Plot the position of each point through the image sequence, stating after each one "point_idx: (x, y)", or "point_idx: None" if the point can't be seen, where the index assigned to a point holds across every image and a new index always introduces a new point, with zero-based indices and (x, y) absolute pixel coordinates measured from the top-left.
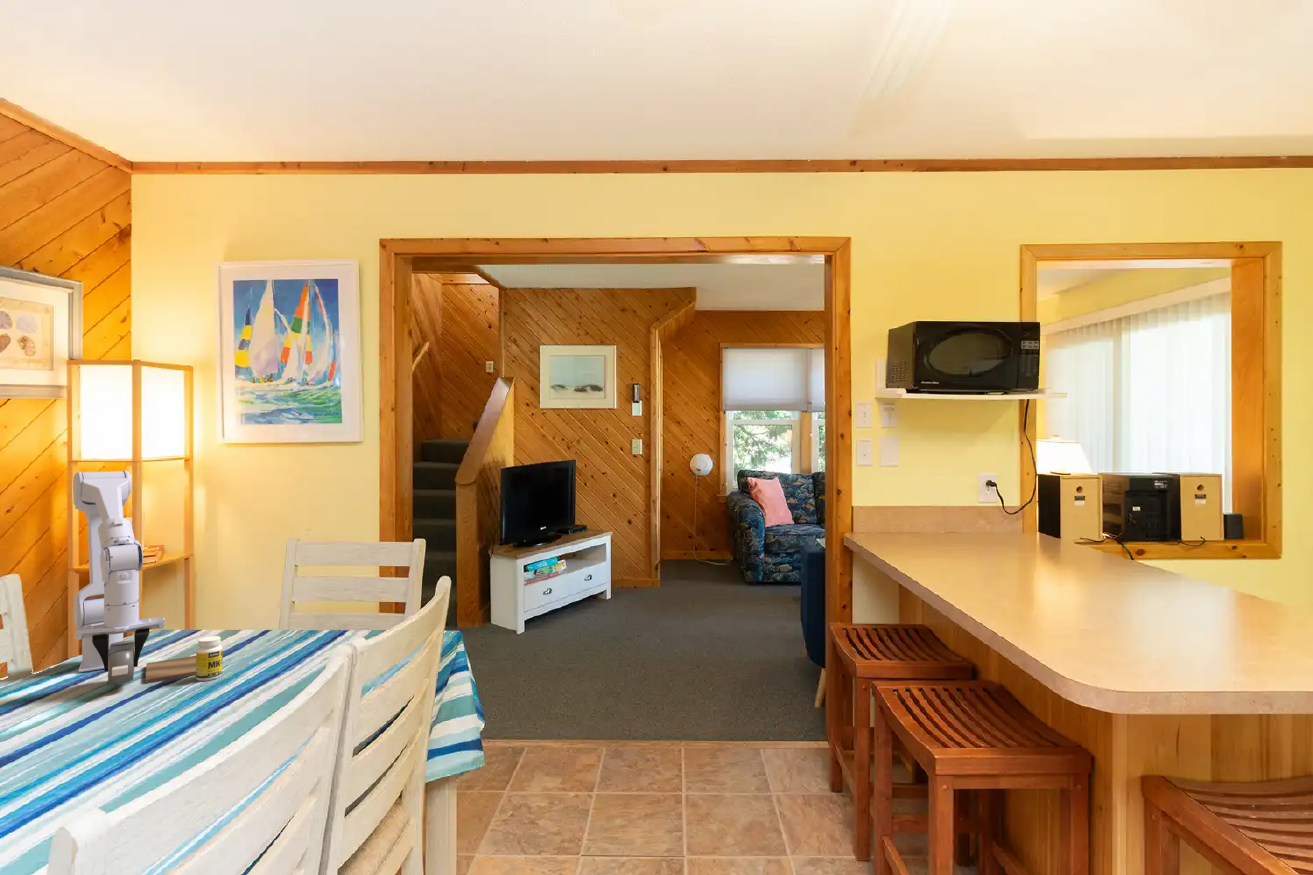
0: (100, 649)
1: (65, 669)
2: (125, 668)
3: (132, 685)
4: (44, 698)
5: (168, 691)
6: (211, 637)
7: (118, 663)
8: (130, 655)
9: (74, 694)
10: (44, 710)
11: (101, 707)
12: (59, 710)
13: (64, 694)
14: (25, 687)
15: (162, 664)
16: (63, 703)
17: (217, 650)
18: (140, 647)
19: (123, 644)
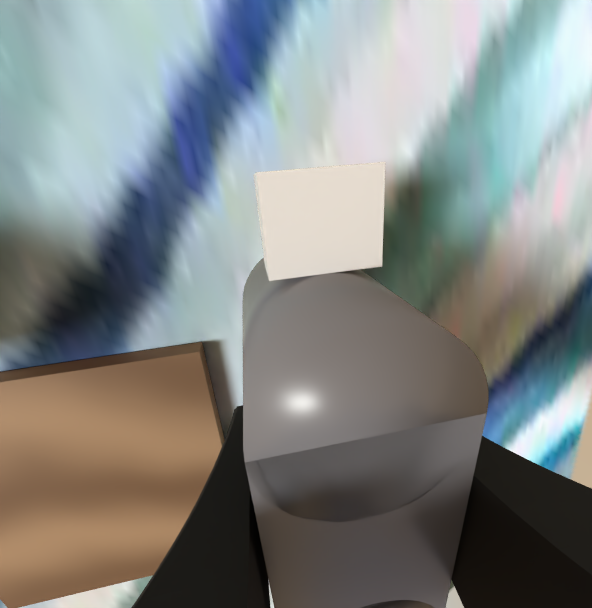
0: (571, 494)
1: None
2: (272, 172)
3: None
4: (531, 325)
5: (10, 117)
6: None
7: (349, 280)
8: (258, 363)
9: (450, 325)
10: (557, 151)
11: (350, 2)
12: (515, 104)
13: (477, 341)
14: (549, 457)
15: (181, 528)
16: (490, 217)
17: None
18: (190, 538)
19: None
